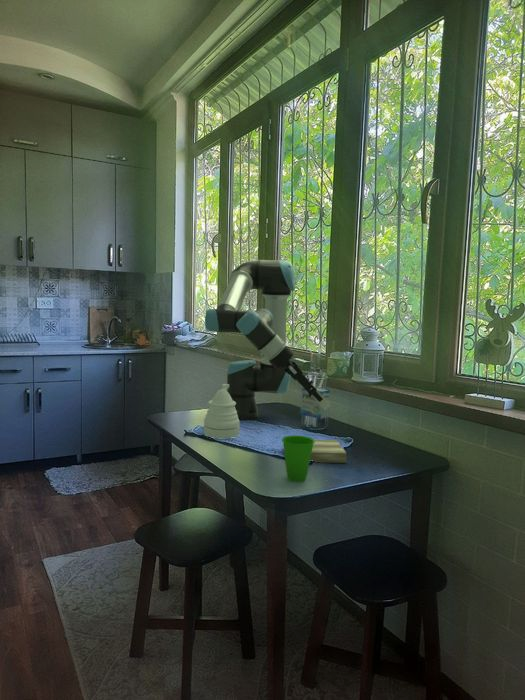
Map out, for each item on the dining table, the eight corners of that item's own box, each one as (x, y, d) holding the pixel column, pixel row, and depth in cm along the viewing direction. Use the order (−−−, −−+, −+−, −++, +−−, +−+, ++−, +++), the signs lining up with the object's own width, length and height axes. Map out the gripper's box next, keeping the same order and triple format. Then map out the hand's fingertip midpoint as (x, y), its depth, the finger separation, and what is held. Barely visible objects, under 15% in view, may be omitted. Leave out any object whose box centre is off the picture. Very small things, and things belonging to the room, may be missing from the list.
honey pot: (216, 427, 186) (217, 381, 184) (245, 433, 180) (247, 384, 178) (196, 435, 174) (197, 385, 173) (227, 441, 168) (228, 390, 167)
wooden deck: (283, 447, 163) (283, 439, 163) (336, 448, 164) (337, 440, 164) (287, 461, 149) (288, 452, 149) (345, 462, 150) (346, 453, 150)
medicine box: (300, 414, 156) (301, 387, 155) (308, 412, 160) (309, 386, 159) (320, 419, 151) (322, 391, 150) (328, 416, 155) (330, 389, 154)
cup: (280, 483, 131) (281, 443, 130) (280, 472, 140) (282, 434, 139) (313, 485, 131) (315, 445, 130) (312, 473, 140) (313, 436, 139)
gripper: (266, 356, 163) (311, 405, 166) (270, 365, 142) (322, 420, 145) (282, 341, 163) (327, 390, 166) (289, 347, 142) (340, 403, 145)
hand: (325, 404), depth 155 cm, fingers closed on medicine box, 8 cm apart
